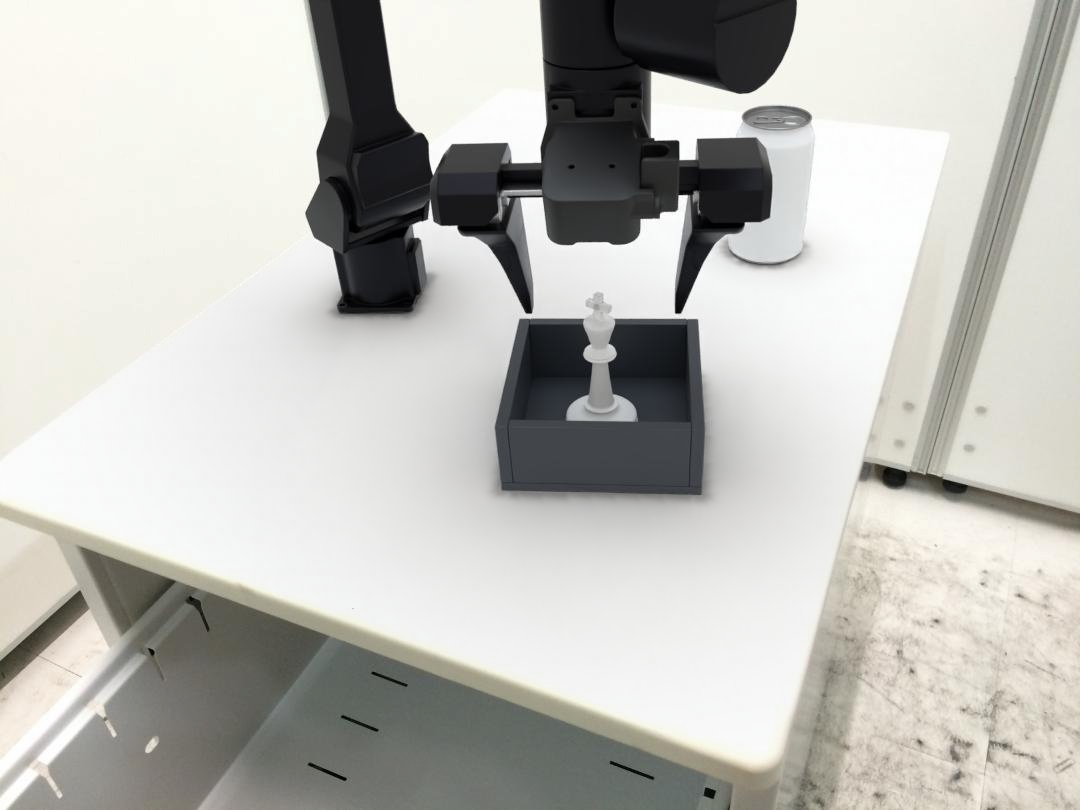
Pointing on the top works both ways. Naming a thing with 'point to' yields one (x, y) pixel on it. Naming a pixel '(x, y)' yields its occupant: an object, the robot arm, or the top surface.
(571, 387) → the dark grey storage bin
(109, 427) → the top surface
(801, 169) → the can
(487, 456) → the top surface
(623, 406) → the chess piece
